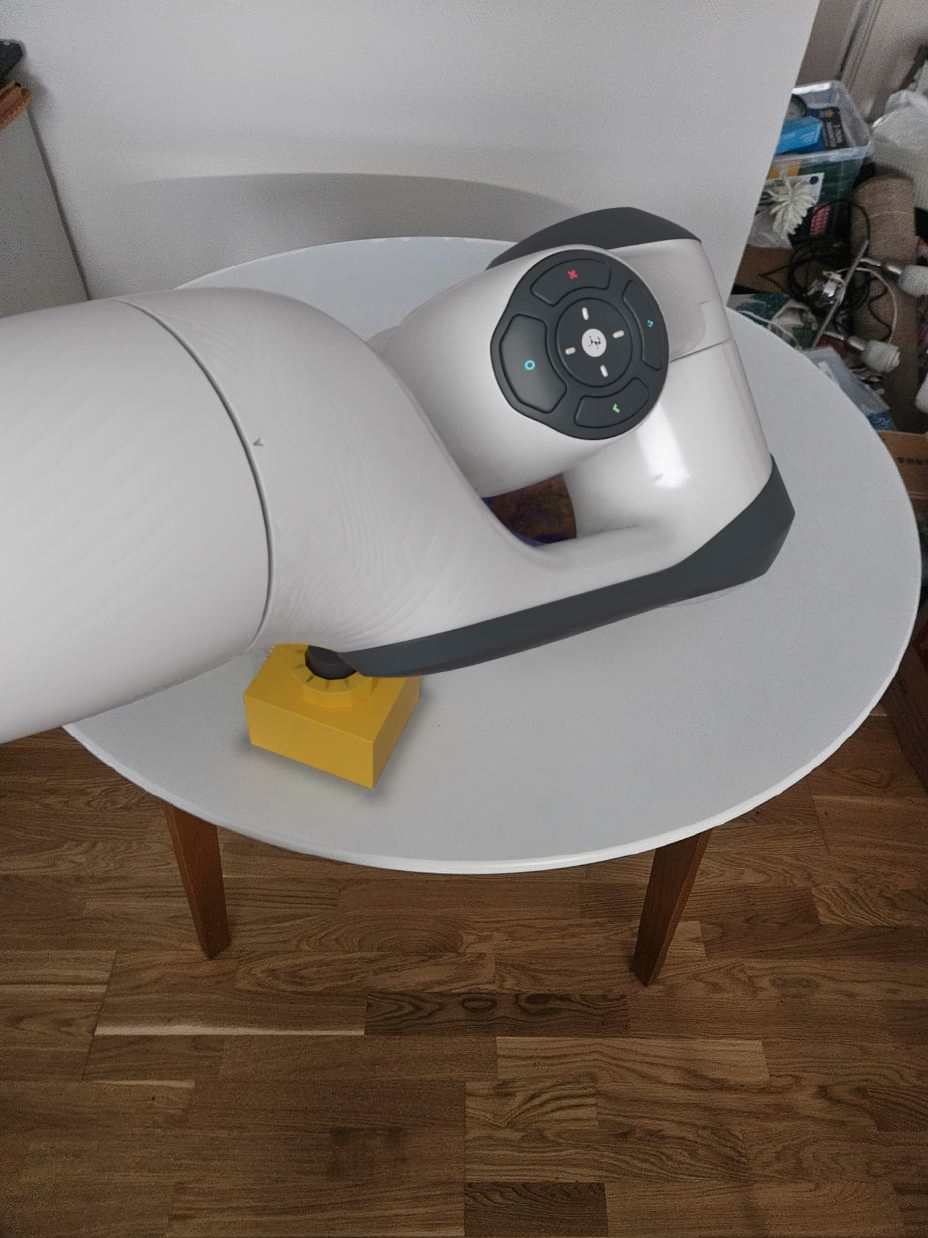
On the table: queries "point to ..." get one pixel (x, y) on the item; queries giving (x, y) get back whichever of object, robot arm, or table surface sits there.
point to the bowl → (537, 512)
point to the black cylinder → (328, 663)
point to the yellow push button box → (327, 715)
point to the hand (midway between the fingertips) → (291, 477)
